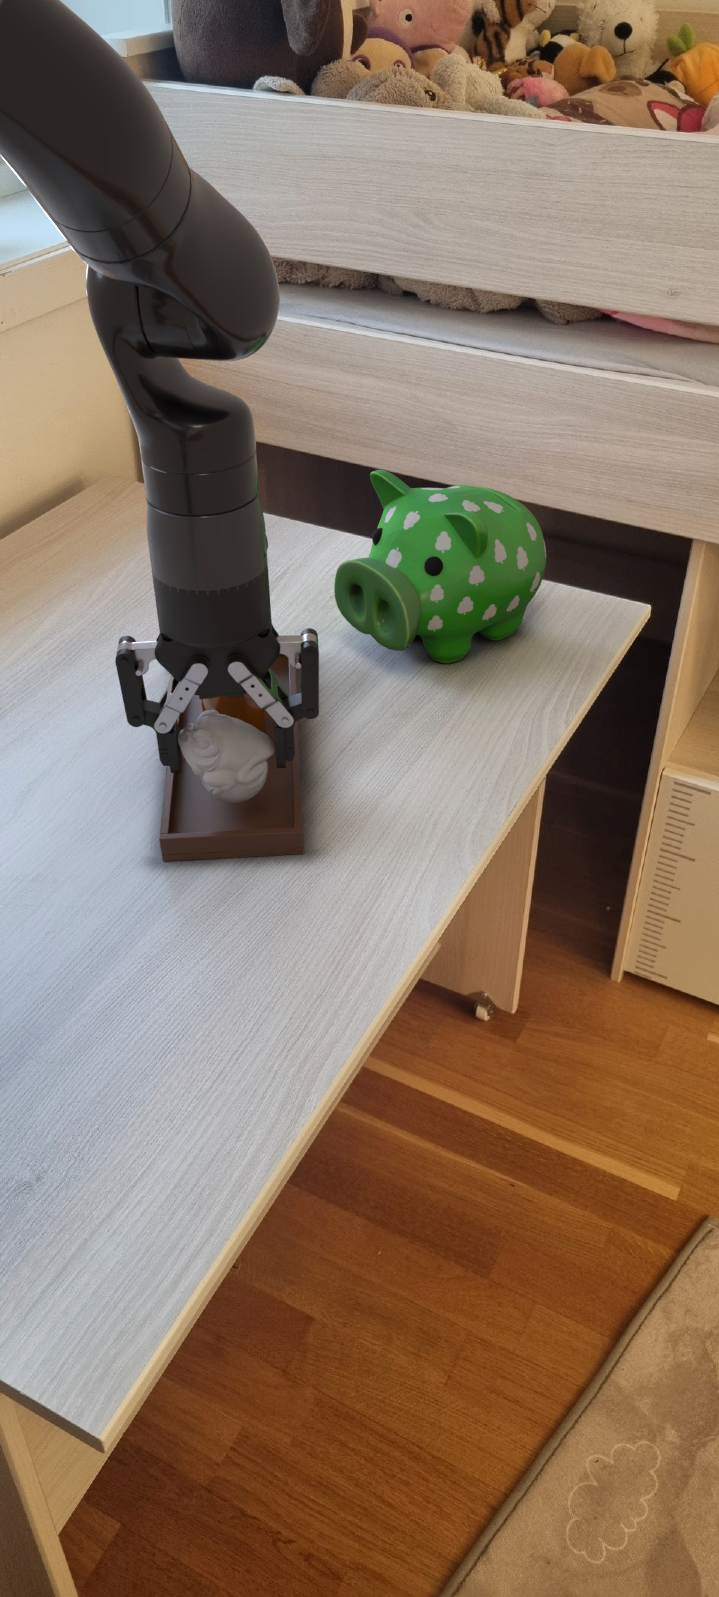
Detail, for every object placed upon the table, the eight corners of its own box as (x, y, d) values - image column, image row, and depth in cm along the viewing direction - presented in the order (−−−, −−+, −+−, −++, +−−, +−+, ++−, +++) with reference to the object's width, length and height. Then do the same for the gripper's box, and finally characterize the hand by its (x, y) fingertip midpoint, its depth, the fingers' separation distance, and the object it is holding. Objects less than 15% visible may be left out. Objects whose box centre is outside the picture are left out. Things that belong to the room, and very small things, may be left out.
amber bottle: (235, 760, 95) (222, 628, 87) (192, 736, 97) (176, 606, 90) (279, 732, 98) (270, 602, 90) (236, 710, 100) (225, 582, 93)
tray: (303, 854, 87) (302, 832, 85) (162, 861, 86) (159, 839, 85) (295, 657, 108) (294, 637, 107) (182, 662, 108) (179, 642, 106)
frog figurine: (190, 771, 92) (181, 694, 87) (281, 771, 92) (276, 694, 87) (180, 821, 87) (169, 743, 83) (276, 821, 87) (270, 742, 82)
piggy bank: (321, 637, 111) (315, 483, 101) (465, 577, 119) (472, 431, 110) (422, 703, 102) (426, 541, 93) (570, 633, 111) (587, 479, 101)
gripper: (90, 591, 74) (126, 800, 84) (322, 581, 75) (329, 790, 85) (103, 537, 80) (135, 739, 90) (318, 528, 80) (325, 730, 91)
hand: (229, 763), depth 87 cm, fingers closed on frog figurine, 7 cm apart
